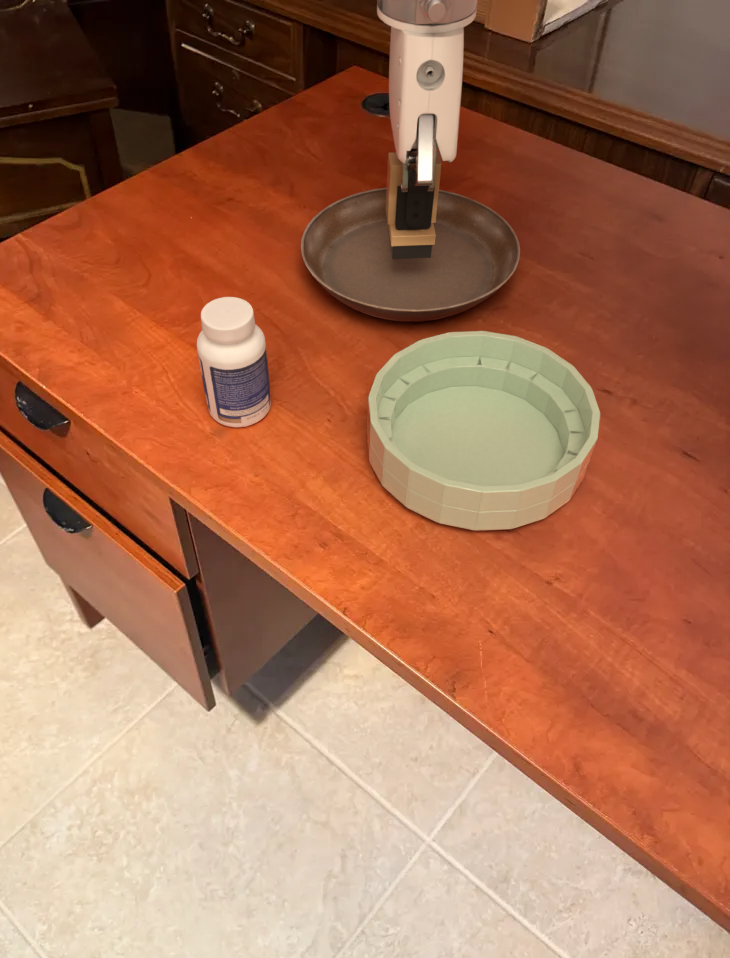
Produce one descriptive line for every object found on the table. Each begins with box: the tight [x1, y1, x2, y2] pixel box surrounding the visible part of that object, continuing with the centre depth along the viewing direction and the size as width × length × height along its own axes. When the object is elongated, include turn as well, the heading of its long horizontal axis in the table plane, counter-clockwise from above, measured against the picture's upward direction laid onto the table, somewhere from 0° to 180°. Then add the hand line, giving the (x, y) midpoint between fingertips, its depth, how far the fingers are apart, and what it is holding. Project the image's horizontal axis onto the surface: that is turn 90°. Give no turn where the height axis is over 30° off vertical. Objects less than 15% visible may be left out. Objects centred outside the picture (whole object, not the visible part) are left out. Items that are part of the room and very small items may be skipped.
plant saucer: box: [300, 187, 521, 322], centre depth 79 cm, size 21×21×3 cm
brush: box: [386, 150, 442, 259], centre depth 75 cm, size 6×4×8 cm
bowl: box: [366, 330, 601, 532], centre depth 64 cm, size 17×17×5 cm
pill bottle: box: [196, 296, 272, 428], centre depth 66 cm, size 5×5×10 cm
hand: (410, 214), depth 76 cm, fingers open, 3 cm apart
